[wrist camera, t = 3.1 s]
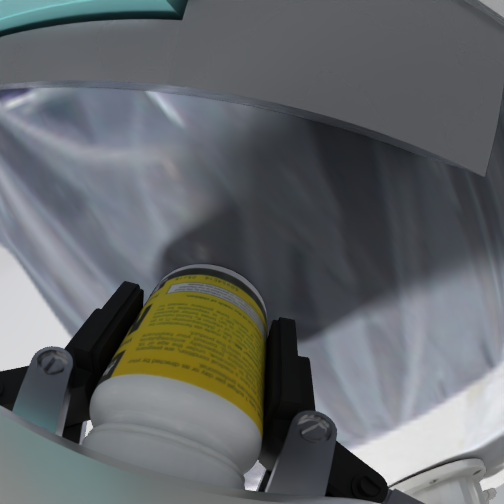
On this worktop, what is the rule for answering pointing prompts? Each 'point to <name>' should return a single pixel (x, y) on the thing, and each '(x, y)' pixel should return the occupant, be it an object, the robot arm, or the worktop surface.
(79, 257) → the worktop surface
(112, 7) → the tray
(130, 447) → the supplement bottle
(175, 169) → the worktop surface
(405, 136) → the block
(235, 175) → the worktop surface
